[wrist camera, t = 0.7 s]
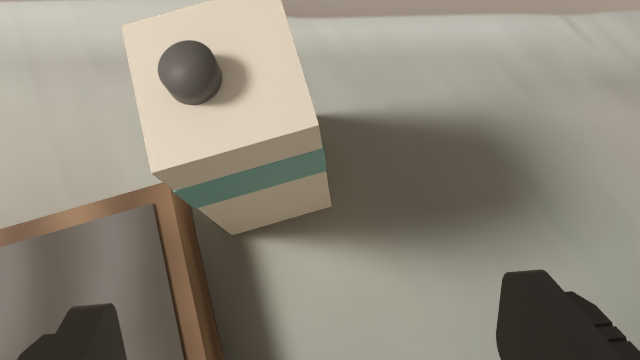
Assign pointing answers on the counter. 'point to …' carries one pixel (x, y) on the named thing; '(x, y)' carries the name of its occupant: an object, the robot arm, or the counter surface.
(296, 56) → the cream carton
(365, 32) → the counter surface
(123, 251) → the brown shallow square tray
